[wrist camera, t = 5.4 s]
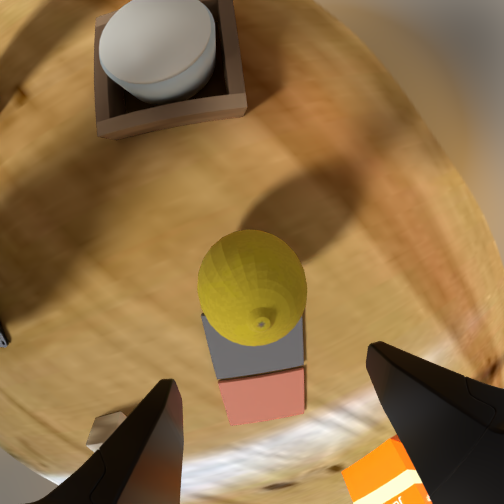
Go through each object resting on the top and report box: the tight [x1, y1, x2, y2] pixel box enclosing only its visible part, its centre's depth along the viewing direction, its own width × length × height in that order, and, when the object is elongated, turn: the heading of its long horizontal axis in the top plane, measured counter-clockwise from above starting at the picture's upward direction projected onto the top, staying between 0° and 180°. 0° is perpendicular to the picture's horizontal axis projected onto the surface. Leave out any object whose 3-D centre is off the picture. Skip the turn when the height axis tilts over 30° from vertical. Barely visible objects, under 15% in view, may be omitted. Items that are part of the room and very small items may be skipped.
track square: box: [201, 314, 304, 379], centre depth 20 cm, size 7×6×1 cm
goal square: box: [218, 367, 304, 426], centre depth 22 cm, size 7×6×1 cm
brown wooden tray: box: [94, 0, 247, 140], centre depth 13 cm, size 8×8×3 cm
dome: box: [99, 0, 216, 105], centre depth 11 cm, size 6×6×4 cm
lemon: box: [197, 230, 307, 346], centre depth 15 cm, size 6×6×8 cm
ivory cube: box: [86, 411, 127, 452], centre depth 21 cm, size 4×4×4 cm
